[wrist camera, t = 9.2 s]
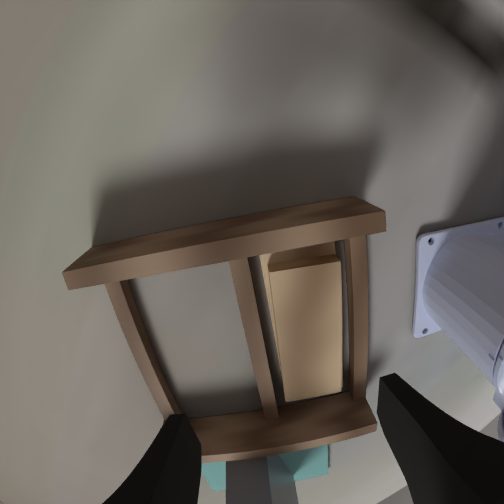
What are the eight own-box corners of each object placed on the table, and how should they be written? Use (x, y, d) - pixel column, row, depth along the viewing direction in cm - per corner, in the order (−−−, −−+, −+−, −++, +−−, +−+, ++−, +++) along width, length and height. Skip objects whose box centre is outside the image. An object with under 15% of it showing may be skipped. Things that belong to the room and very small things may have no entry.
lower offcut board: (328, 229, 19) (333, 235, 18) (338, 377, 23) (343, 387, 22) (257, 243, 19) (258, 249, 18) (283, 389, 23) (286, 399, 22)
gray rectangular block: (264, 436, 23) (273, 518, 16) (293, 475, 26) (305, 541, 18) (225, 446, 23) (226, 526, 16) (260, 483, 26) (266, 549, 18)
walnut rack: (355, 196, 18) (385, 210, 14) (360, 396, 23) (376, 430, 19) (91, 247, 18) (61, 272, 14) (168, 427, 23) (161, 464, 19)
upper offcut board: (334, 254, 18) (340, 261, 17) (337, 380, 22) (341, 391, 21) (267, 264, 18) (268, 272, 17) (283, 390, 22) (285, 402, 21)
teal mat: (325, 420, 24) (327, 425, 23) (327, 469, 27) (328, 473, 26) (186, 440, 24) (186, 445, 23) (213, 486, 27) (213, 490, 26)
